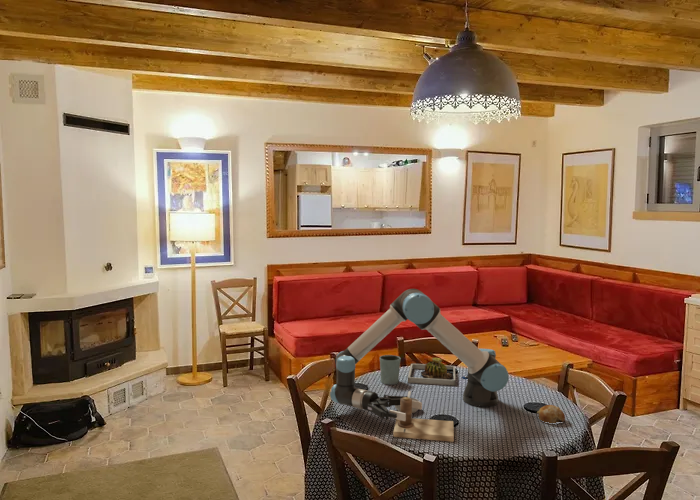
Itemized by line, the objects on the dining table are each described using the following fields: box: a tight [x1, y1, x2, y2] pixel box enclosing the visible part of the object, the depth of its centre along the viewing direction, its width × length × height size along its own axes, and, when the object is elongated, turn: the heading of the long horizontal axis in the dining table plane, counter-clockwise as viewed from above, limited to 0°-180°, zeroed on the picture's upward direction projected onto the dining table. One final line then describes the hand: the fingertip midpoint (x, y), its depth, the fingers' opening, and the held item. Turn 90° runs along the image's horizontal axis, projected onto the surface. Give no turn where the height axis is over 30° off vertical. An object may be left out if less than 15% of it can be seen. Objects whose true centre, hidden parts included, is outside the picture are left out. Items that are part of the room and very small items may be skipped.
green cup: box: [379, 354, 402, 386], centre depth 266 cm, size 10×10×12 cm
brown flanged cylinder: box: [398, 397, 414, 428], centre depth 209 cm, size 6×6×10 cm
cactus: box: [420, 357, 453, 380], centre depth 275 cm, size 17×16×10 cm
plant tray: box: [407, 363, 456, 386], centre depth 275 cm, size 23×24×2 cm
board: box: [393, 417, 455, 443], centre depth 209 cm, size 22×14×2 cm, turn 80°
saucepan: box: [394, 390, 421, 414], centre depth 234 cm, size 11×18×4 cm, turn 168°
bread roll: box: [536, 404, 566, 423], centre depth 220 cm, size 10×10×8 cm
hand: (413, 411), depth 207 cm, fingers open, 13 cm apart
